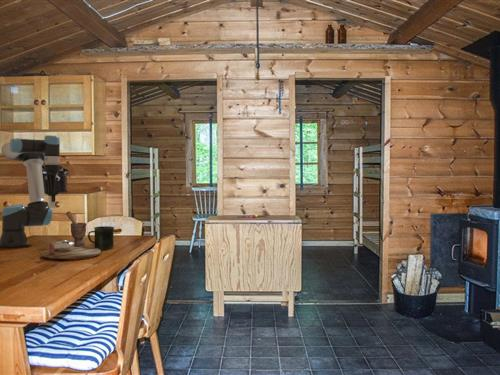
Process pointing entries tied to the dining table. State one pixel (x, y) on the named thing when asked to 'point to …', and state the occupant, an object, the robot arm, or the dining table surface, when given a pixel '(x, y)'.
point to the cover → (64, 246)
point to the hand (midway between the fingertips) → (51, 207)
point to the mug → (103, 237)
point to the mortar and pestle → (77, 230)
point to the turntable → (71, 253)
